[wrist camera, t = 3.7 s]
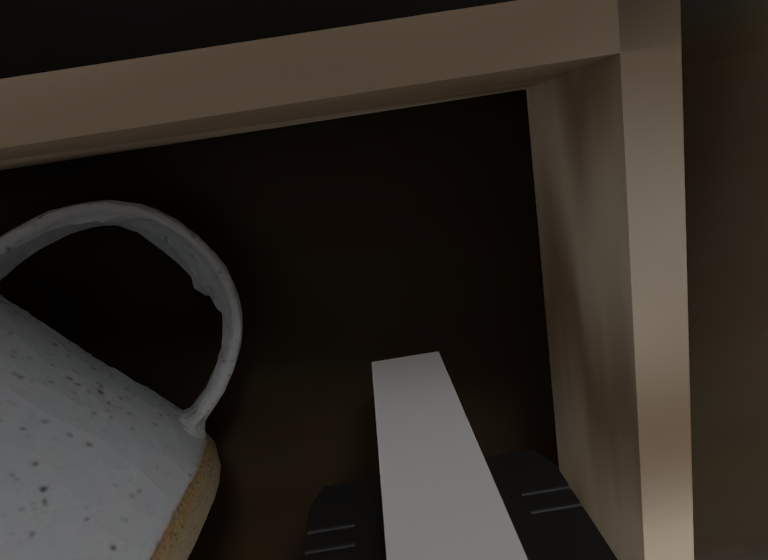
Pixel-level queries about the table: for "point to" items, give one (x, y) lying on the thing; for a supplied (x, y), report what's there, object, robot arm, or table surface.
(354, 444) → the table surface
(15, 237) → the ceramic mug
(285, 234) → the table surface
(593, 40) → the frame
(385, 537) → the robot arm
